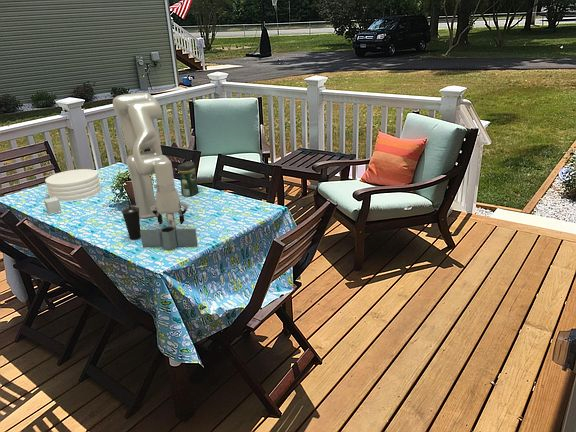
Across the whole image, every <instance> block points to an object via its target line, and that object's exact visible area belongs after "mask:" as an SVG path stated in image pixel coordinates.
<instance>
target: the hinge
mask: <svg viewBox="0 0 576 432" xmlns="http://www.w3.org/2000/svg"><path fill="white" fill-rule="evenodd" d="M140 235H141V238H140V240H141V245H142V248H161V249H162V250H164V251H173V250H175V249H177V248H185V247H187V248H189V247H191V248H193V247H199V245H198V236H197V230H196V228H177V227H176V228H175V227H173V226H168V225H167V226H164V227H160V228H158V229H157V228H156V229H140Z"/></svg>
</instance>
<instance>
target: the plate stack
mask: <svg viewBox="0 0 576 432" xmlns="http://www.w3.org/2000/svg"><path fill="white" fill-rule="evenodd" d="M44 181H45V184H46V188H47V192H48V197H49V198H50V197H51V198H54V197H56V198H57V199H58V200H59V201H76V200H81V199H86V198H89V197H91V196H94V195H96V194H98V193H99V192H100V191H101V192H102V188H101V184H100V183H101V181H100V177H99V172H98V171H97V170H94V169H89V168H86V169H85V168H84V169H83V168H82V169H81V168H80V169H71V170H65V171H61V172H57V173H54V174H52V175H49V176H47V177H46V178H45V180H44Z"/></svg>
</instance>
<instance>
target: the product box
mask: <svg viewBox="0 0 576 432" xmlns="http://www.w3.org/2000/svg"><path fill="white" fill-rule="evenodd" d="M43 202H44V205H45V206H44V207H45V209H46V213H47V212H48V213H49V214H51V213H55V212H59V211H62V207H61V203H59V200H58V199H57V198H56V197H54V198H50V197H49V198H47V199H44V200H43ZM48 213H47V214H48ZM49 214H48V215H49Z"/></svg>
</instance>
